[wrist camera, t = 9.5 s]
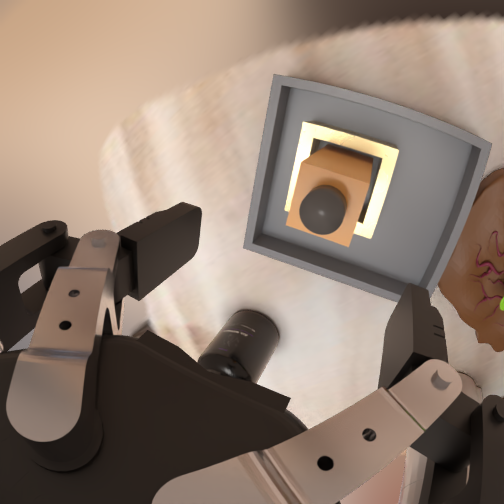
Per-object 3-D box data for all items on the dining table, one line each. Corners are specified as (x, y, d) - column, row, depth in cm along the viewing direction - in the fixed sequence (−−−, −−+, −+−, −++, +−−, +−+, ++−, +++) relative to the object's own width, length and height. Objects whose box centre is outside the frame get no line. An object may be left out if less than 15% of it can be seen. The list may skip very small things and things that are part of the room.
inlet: (396, 145, 23) (399, 150, 20) (372, 224, 27) (370, 239, 24) (312, 120, 25) (303, 121, 22) (295, 198, 29) (284, 210, 26)
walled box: (479, 139, 20) (492, 143, 17) (420, 291, 28) (422, 311, 25) (286, 77, 25) (273, 74, 22) (256, 234, 33) (243, 247, 30)
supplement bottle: (255, 299, 37) (205, 369, 27) (291, 340, 37) (253, 416, 27) (219, 320, 41) (169, 383, 31) (253, 357, 41) (212, 424, 31)
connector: (373, 158, 24) (368, 190, 15) (360, 200, 26) (345, 258, 17) (328, 143, 25) (293, 166, 16) (317, 186, 27) (277, 234, 18)
